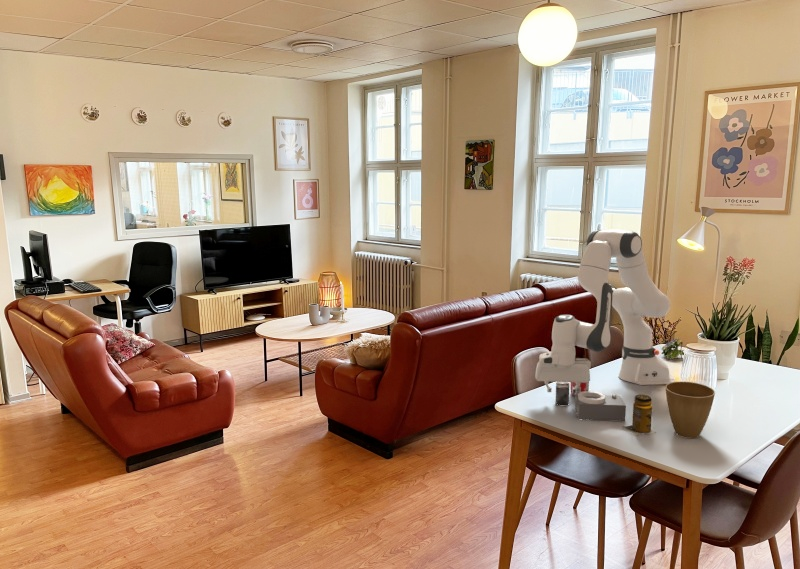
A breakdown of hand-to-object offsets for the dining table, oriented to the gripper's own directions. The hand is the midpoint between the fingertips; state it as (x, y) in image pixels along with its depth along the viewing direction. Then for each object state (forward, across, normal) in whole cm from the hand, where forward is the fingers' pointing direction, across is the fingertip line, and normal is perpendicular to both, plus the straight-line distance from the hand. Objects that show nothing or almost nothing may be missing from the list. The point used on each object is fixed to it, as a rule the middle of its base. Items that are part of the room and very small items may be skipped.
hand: (561, 392), depth 232 cm
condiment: (+5, -23, +23) cm, 33 cm away
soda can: (+5, -8, -11) cm, 15 cm away
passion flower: (+4, -60, -68) cm, 91 cm away
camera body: (+4, -12, +11) cm, 17 cm away
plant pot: (+5, -38, +25) cm, 46 cm away
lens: (+5, 0, 0) cm, 5 cm away
